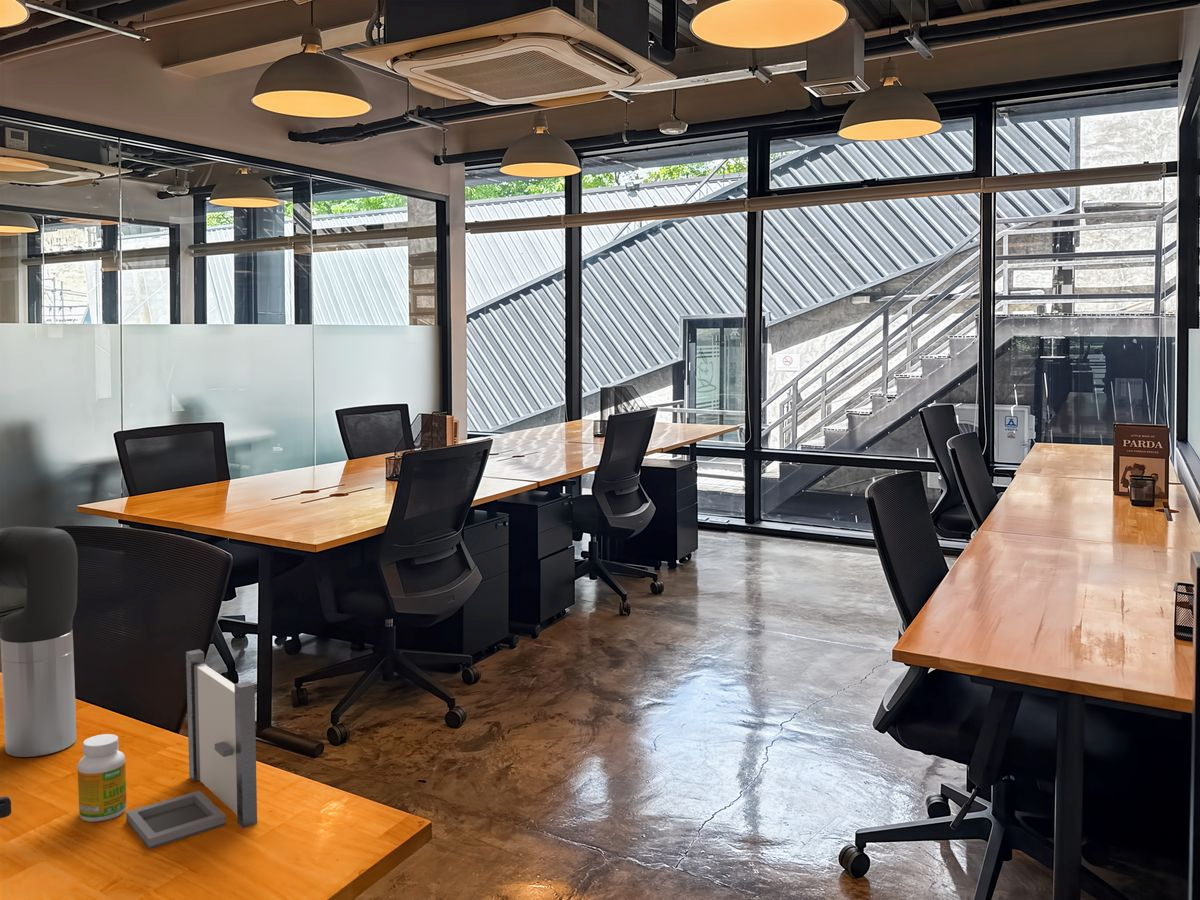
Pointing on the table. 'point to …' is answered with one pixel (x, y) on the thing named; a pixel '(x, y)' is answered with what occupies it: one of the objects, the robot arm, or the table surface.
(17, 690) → the robot arm
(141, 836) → the shallow tray
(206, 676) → the door
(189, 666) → the door frame
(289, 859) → the table surface
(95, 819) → the supplement bottle
